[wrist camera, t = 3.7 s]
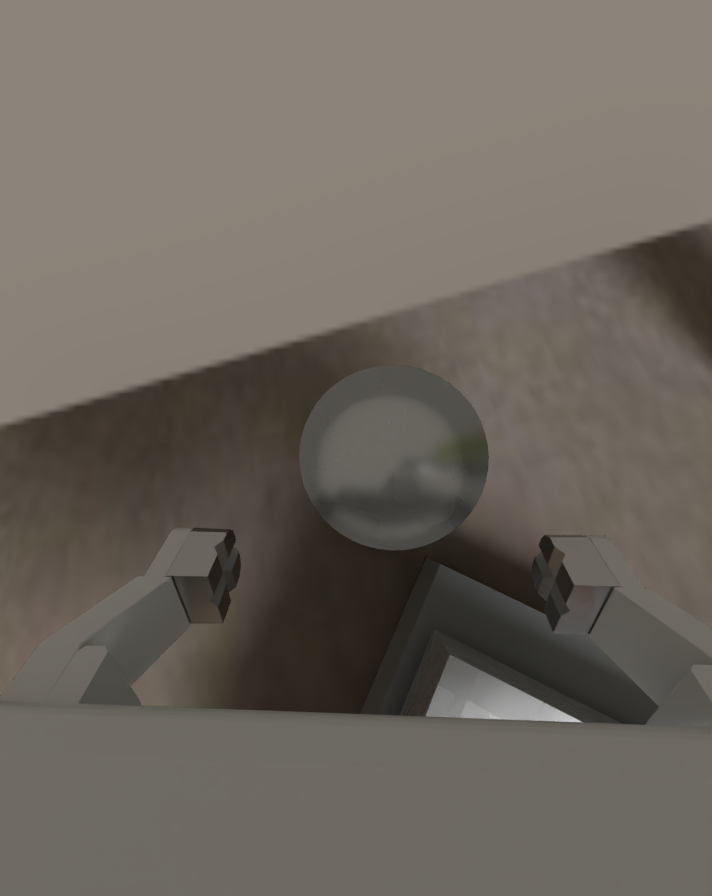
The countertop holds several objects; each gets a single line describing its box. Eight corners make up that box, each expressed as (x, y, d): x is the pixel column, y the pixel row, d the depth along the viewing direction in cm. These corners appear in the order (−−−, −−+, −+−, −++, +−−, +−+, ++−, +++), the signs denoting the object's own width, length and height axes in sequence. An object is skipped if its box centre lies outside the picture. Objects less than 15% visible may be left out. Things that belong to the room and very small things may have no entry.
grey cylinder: (451, 465, 19) (516, 408, 10) (410, 559, 18) (443, 585, 9) (360, 425, 20) (347, 338, 11) (317, 514, 19) (266, 498, 10)
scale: (721, 678, 17) (828, 723, 13) (590, 1154, 14) (675, 1399, 10) (432, 541, 18) (448, 544, 14) (263, 941, 15) (225, 1079, 12)
